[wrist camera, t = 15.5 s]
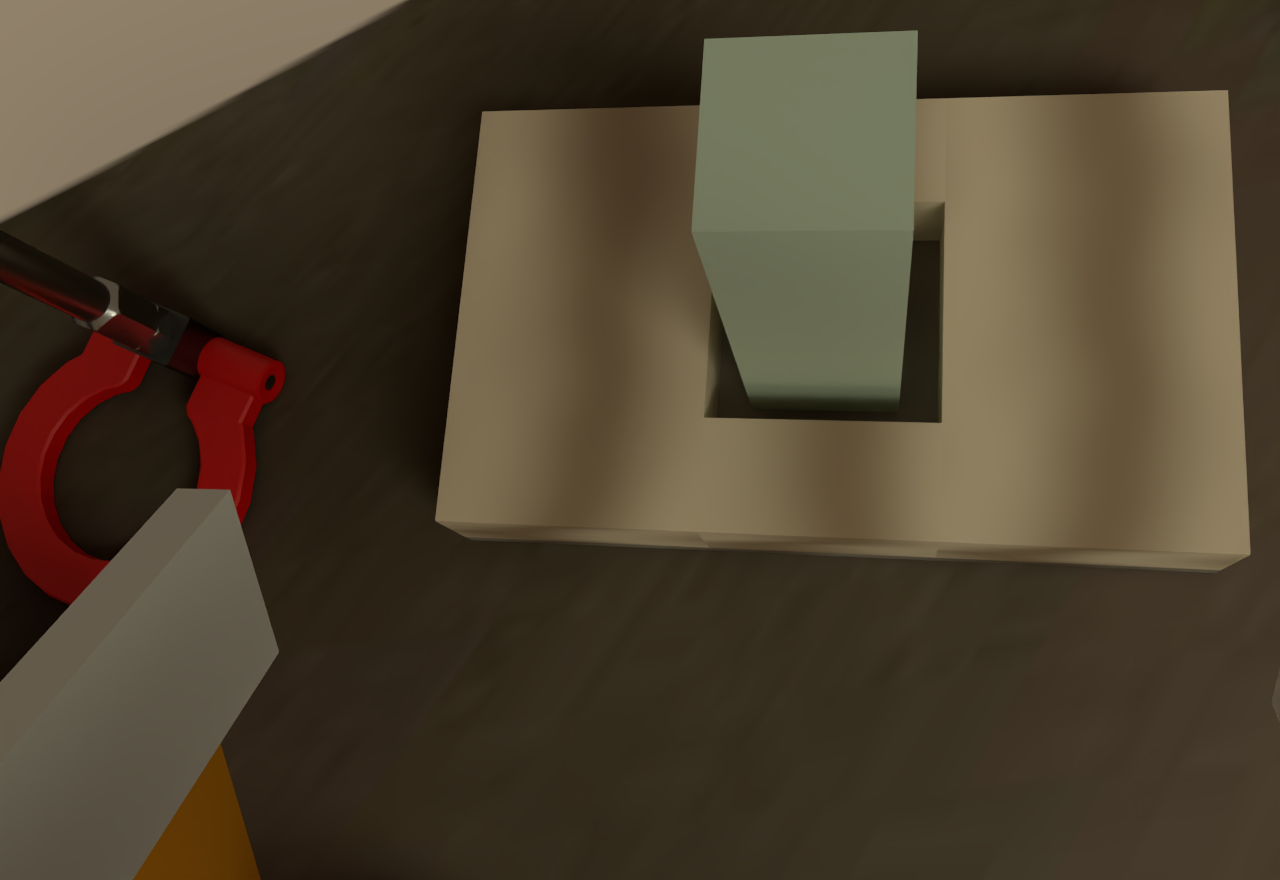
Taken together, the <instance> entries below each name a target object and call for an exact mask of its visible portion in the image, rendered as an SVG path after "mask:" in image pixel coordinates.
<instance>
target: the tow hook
mask: <svg viewBox="0 0 1280 880" xmlns="http://www.w3.org/2000/svg"><path fill="white" fill-rule="evenodd" d="M0 283H1V284H4V285H6V286H8V287H10V288H12V289H14V290H16V291H19V292H21V293H23V294H25V295H27V296H29V297H32V298H34V299H36V300H38V301H40V302H42V303H45V304H47V305H49V306H51V307H53V308H55V309H58V310H60V311H62V312H64V313H66V314H68V315H71V316H72V319H73V321H74V323H76V324H78V325H80V326H82V327H84V328H87V329H89V330H91V331H93V333H92V335H91V337H90V339H89V341H88V343H87V345H86V347H85V349H84V351H83V354H81V355H79V356H77V357H75V358H73V359H72V360H70V361H68V362H66V363H65V364H64V365H63V366H62V367H61V368H60V369H58V370H57V371H56V372H55V373H54V374H53V375H51V376H50V377H49V378H48V379H47V380H46V381H45V382H43V383H42V384H41V385H40V387H39V388H38V389H37V391H36V392H35V394H34V395H33V396H32V398H31V399H30V400H29V402H28V403H27V404H26V406H25V407H24V408H23V410H22V411H21V412H20V414H19V417H18V419H17V421H16V423H15V425H14V428H13V430H12V432H11V434H10V437H9V439H8V441H7V443H6V445H5V450H4V455H3V460H2V465H1V469H0V520H1V523H2V527H3V531H4V534H5V538H6V541H7V545H8V548H9V549H10V551H11V553H12V554H13V556H14V558H15V559H16V561H17V562H18V564H19V566H20V567H21V569H22V571H23V572H24V574H25V575H26V576H27V577H28V578H29V579H30V580H32V581H33V582H34V583H35V584H36V585H37V586H38V587H39V588H41V589H42V590H43V591H44V592H45V593H46V594H47V595H49V596H51V597H53V598H55V599H58V600H60V601H62V602H64V603H67V604H69V605H71V604H72V603H73V602H74V601H75V600H76V599H77V598H78V596H79V595H80V594H81V593H82V592H83V591H84V590H85V589H86V588H87V587H88V585H89V584H90V583H91V582H92V581H93V580H94V579H95V578H96V577H97V576H98V575H99V573H100V572H101V571H102V570H103V569H104V568H105V567H106V566H107V565H108V564H109V562H110V561H104V560H100V559H98V558H95V557H93V556H91V555H88V554H86V553H85V552H84V551H83V550H82V549H81V548H79V547H78V546H77V545H76V544H75V543H74V542H72V541H71V539H70V538H69V536H68V534H67V533H66V531H65V530H64V528H63V526H62V525H61V523H60V520H59V517H58V513H57V510H56V506H55V503H54V476H55V471H56V466H57V461H58V457H59V455H60V453H61V451H62V448H63V446H64V444H65V442H66V439H67V437H68V436H69V435H70V433H71V432H72V430H73V429H74V428H75V426H76V425H77V424H78V422H79V421H80V420H81V418H83V417H84V416H85V415H86V414H87V413H88V412H90V411H91V410H92V409H93V408H94V407H95V406H96V405H98V404H99V403H101V402H103V401H105V400H107V399H109V398H111V397H113V396H115V395H117V394H121V393H125V392H130V391H133V390H134V389H135V388H137V387H138V386H139V385H140V383H141V381H142V379H143V377H144V375H145V373H146V371H147V369H148V367H149V365H150V363H151V361H153V362H155V363H158V364H160V365H162V366H165V367H167V368H169V369H172V370H174V371H176V372H179V373H181V374H183V375H186V376H188V377H190V378H193V379H195V380H197V381H198V382H197V384H196V386H195V388H194V390H193V392H192V394H191V396H190V398H189V401H188V403H187V405H186V410H187V416H188V417H189V419H190V420H191V421H192V423H193V426H194V429H195V432H196V435H197V438H198V441H199V449H200V464H201V467H200V472H199V478H198V484H197V489H220V490H230V491H231V494H232V498H233V501H234V504H235V508H236V511H237V514H238V518H239V521H240V524H242V522H243V519H244V517H245V515H246V512H247V510H248V507H249V505H250V503H251V497H252V491H253V485H254V479H255V473H256V467H257V466H256V453H255V440H254V431H253V428H252V427H253V425H254V423H255V421H256V419H257V417H258V414H259V412H260V410H261V408H262V406H263V404H267V403H270V402H271V401H273V400H274V399H275V398H276V397H277V396H278V394H279V393H280V391H281V389H282V387H283V385H284V382H285V376H286V371H285V367H284V365H283V364H282V363H281V362H279V361H277V360H275V359H272V358H270V357H267V356H265V355H262V354H260V353H258V352H255V351H253V350H250V349H248V348H245V347H243V346H241V345H238V344H236V343H233V342H231V341H228V340H226V338H225V337H224V336H223V335H221V334H220V333H218V332H216V331H214V330H212V329H210V328H208V327H206V326H205V325H203V324H201V323H199V322H197V321H195V320H193V319H192V318H190V317H188V316H186V315H183V314H181V313H178V312H176V311H174V310H171V309H169V308H166V307H164V306H161V305H159V304H156V303H154V302H152V301H149V300H147V299H145V298H143V297H141V296H139V295H137V294H135V293H134V292H132V291H130V290H128V289H126V288H124V287H122V286H120V285H118V284H116V283H114V282H111V281H109V280H106V279H104V278H101V277H99V276H95V277H90V276H88V275H87V274H85V273H83V272H81V271H79V270H77V269H75V268H73V267H71V266H69V265H67V264H65V263H63V262H62V261H60V260H58V259H56V258H54V257H52V256H50V255H48V254H46V253H44V252H42V251H40V250H39V249H37V248H35V247H33V246H31V245H29V244H27V243H25V242H23V241H21V240H19V239H17V238H16V237H14V236H12V235H10V234H8V233H6V232H4V231H2V230H0Z"/></svg>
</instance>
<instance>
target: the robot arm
mask: <svg viewBox="0 0 1280 880" xmlns="http://www.w3.org/2000/svg"><path fill="white" fill-rule="evenodd" d="M278 653H279V650H278V647H277V644H276V640H275V637H274V634H273V630H272V627H271V624H270V620H269V617H268V614H267V610H266V607H265V604H264V601H263V597H262V594H261V591H260V587H259V584H258V581H257V577H256V574H255V571H254V567H253V564H252V561H251V557H250V554H249V551H248V548H247V544H246V541H245V538H244V534H243V531H242V528H241V524H240V521H239V518H238V514H237V511H236V508H235V504H234V501H233V498H232V494H231V491H230V490H220V489H176V490H175V491H174V492H173V493H172V495H171V496H170V497H169V498H168V499H167V500H166V501H165V502H164V503H163V504H162V505H161V507H160V508H159V509H158V510H157V511H156V512H155V513H154V514H153V515H152V516H151V518H150V519H149V520H148V521H147V522H146V523H145V524H144V525H143V526H142V527H141V528H140V530H139V531H138V532H137V533H136V534H135V535H134V536H133V537H132V538H131V539H130V541H129V542H128V543H127V544H126V545H125V546H124V547H123V548H122V549H121V550H120V552H119V553H118V554H117V555H116V556H115V557H114V558H113V559H112V560H111V561H110V562H109V564H108V565H107V566H106V567H105V568H104V569H103V570H102V571H101V572H100V573H99V575H98V576H97V577H96V578H95V579H94V580H93V581H92V582H91V583H90V584H89V585H88V587H87V588H86V589H85V590H84V591H83V592H82V593H81V594H80V595H79V596H78V598H77V599H76V600H75V601H74V602H73V603H72V604H71V605H70V606H69V607H68V609H67V610H66V611H65V612H64V613H63V614H62V615H61V616H60V617H59V618H58V619H57V621H56V622H55V623H54V624H53V625H52V626H51V627H50V628H49V629H48V630H47V632H46V633H45V634H44V635H43V636H42V637H41V638H40V639H39V640H38V641H37V642H36V644H35V645H34V646H33V647H32V648H31V649H30V650H29V651H28V652H27V653H26V655H25V656H24V657H23V658H22V659H21V660H20V661H19V662H18V663H17V664H16V666H15V667H14V668H13V669H12V670H11V671H10V672H9V673H8V674H7V675H6V676H5V678H4V679H3V680H2V681H1V682H0V880H133V879H134V877H135V875H136V874H137V872H138V871H139V869H140V868H141V866H142V865H143V863H144V861H145V860H146V858H147V857H148V855H149V854H150V852H151V851H152V849H153V847H154V846H155V844H156V843H157V841H158V840H159V838H160V837H161V835H162V833H163V832H164V830H165V829H166V827H167V826H168V824H169V823H170V821H171V819H172V818H173V816H174V815H175V813H176V812H177V810H178V809H179V807H180V805H181V804H182V802H183V801H184V799H185V798H186V796H187V795H188V793H189V791H190V790H191V788H192V787H193V785H194V784H195V782H196V781H197V779H198V777H199V776H200V774H201V773H202V771H203V770H204V768H205V767H206V765H207V763H208V762H209V760H210V759H211V757H212V756H213V754H214V753H215V751H216V749H217V748H218V746H219V745H220V743H221V742H222V740H223V738H224V737H225V735H226V734H227V732H228V731H229V729H230V728H231V726H232V724H233V723H234V721H235V720H236V718H237V717H238V715H239V714H240V712H241V710H242V709H243V707H244V706H245V704H246V703H247V701H248V700H249V698H250V696H251V695H252V693H253V692H254V690H255V689H256V687H257V686H258V684H259V682H260V681H261V679H262V678H263V676H264V675H265V673H266V672H267V670H268V668H269V667H270V665H271V664H272V662H273V661H274V659H275V658H276V656H277V654H278ZM1272 705H1273V707H1274V710H1275V712H1276V714H1277V717H1278V719H1279V722H1280V670H1279V674H1278V678H1277V682H1276V686H1275V690H1274V694H1273V699H1272Z"/></svg>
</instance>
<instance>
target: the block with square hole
mask: <svg viewBox="0 0 1280 880" xmlns="http://www.w3.org/2000/svg"><path fill="white" fill-rule="evenodd" d="M699 111H700V105H696V106H661V107H626V108H591V109H556V110H521V111H486V112H482V119H481V128H480V136H479V145H478V154H477V162H476V171H475V180H474V188H473V197H472V206H471V214H470V223H469V232H468V240H467V249H466V258H465V266H464V275H463V284H462V292H461V301H460V309H459V318H458V327H457V335H456V344H455V353H454V361H453V370H452V379H451V387H450V396H449V405H448V413H447V422H446V431H445V439H444V448H443V457H442V465H441V474H440V483H439V491H438V500H437V509H436V517H435V521H436V522H438V523H440V524H442V525H444V526H446V527H447V528H449V529H451V530H453V531H455V532H457V533H459V534H461V535H463V536H464V537H466V538H468V539H470V540H483V541H505V542H528V543H550V544H573V545H595V546H618V547H640V548H663V549H685V550H708V551H730V552H753V553H775V554H798V555H820V556H843V557H865V558H888V559H910V560H933V561H956V562H978V563H1001V564H1023V565H1046V566H1068V567H1091V568H1113V569H1136V570H1158V571H1181V572H1203V573H1216V572H1218V571H1220V570H1222V569H1224V568H1226V567H1228V566H1230V565H1231V564H1233V563H1235V562H1237V561H1239V560H1241V559H1243V558H1245V557H1247V556H1249V555H1250V536H1249V515H1248V495H1247V474H1246V453H1245V433H1244V412H1243V392H1242V371H1241V350H1240V330H1239V309H1238V288H1237V268H1236V247H1235V227H1234V206H1233V185H1232V165H1231V144H1230V123H1229V103H1228V90H1220V91H1186V92H1151V93H1116V94H1081V95H1046V96H1011V97H976V98H941V99H916V140H915V190H914V232H913V244H912V256H911V268H910V280H909V292H908V304H907V317H906V329H905V341H904V353H903V365H902V377H901V389H900V401H899V412H871V411H823V410H776V409H752V407H751V404H750V401H749V398H748V395H747V392H746V389H745V386H744V384H743V381H742V378H741V375H740V372H739V369H738V366H737V363H736V360H735V357H734V354H733V352H732V349H731V346H730V343H729V340H728V337H727V334H726V331H725V328H724V325H723V322H722V320H721V317H720V314H719V311H718V308H717V305H716V302H715V299H714V296H713V293H712V290H711V288H710V285H709V282H708V279H707V276H706V273H705V270H704V267H703V264H702V261H701V258H700V256H699V253H698V250H697V247H696V244H695V241H694V238H693V235H692V232H691V230H692V215H693V200H694V185H695V170H696V156H697V141H698V126H699Z"/></svg>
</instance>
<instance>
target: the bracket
mask: <svg viewBox="0 0 1280 880" xmlns="http://www.w3.org/2000/svg"><path fill="white" fill-rule="evenodd" d="M133 880H261V878H260V875H259V871H258V868H257V865H256V861H255V858H254V855H253V851H252V848H251V844H250V841H249V838H248V834H247V831H246V828H245V824H244V821H243V818H242V814H241V811H240V807H239V804H238V801H237V797H236V794H235V791H234V787H233V784H232V781H231V777H230V774H229V771H228V767H227V764H226V760H225V757H224V754H223V750H222V747H221V744H220V745H219V746H218V748H217V749H216V751H215V753H214V754H213V756H212V757H211V759H210V760H209V762H208V763H207V765H206V767H205V768H204V770H203V771H202V773H201V774H200V776H199V777H198V779H197V781H196V782H195V784H194V785H193V787H192V788H191V790H190V791H189V793H188V795H187V796H186V798H185V799H184V801H183V802H182V804H181V805H180V807H179V809H178V810H177V812H176V813H175V815H174V816H173V818H172V819H171V821H170V823H169V824H168V826H167V827H166V829H165V830H164V832H163V833H162V835H161V837H160V838H159V840H158V841H157V843H156V844H155V846H154V847H153V849H152V851H151V852H150V854H149V855H148V857H147V858H146V860H145V861H144V863H143V865H142V866H141V868H140V869H139V871H138V872H137V874H136V875H135V877H134V879H133Z"/></svg>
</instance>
